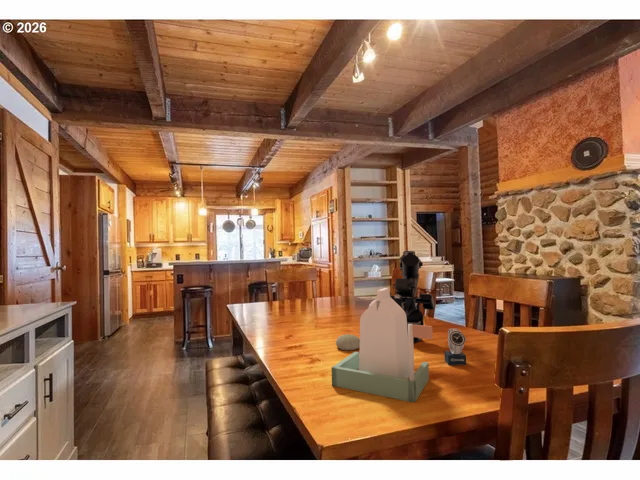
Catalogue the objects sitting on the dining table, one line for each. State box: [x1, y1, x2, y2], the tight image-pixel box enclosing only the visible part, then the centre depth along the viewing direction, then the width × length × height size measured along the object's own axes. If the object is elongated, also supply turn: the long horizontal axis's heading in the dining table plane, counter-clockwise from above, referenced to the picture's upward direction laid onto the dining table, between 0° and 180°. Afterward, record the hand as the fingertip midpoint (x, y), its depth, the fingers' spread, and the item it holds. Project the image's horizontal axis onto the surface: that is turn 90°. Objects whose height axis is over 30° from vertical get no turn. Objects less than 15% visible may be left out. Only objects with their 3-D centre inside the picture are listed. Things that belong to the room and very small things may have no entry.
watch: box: [444, 328, 467, 366], centre depth 113 cm, size 6×8×11 cm
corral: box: [331, 324, 434, 403], centre depth 97 cm, size 16×28×19 cm, turn 60°
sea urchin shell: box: [335, 333, 360, 351], centre depth 131 cm, size 9×8×8 cm
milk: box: [358, 287, 409, 379], centre depth 101 cm, size 12×12×26 cm
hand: (401, 320), depth 116 cm, fingers closed
